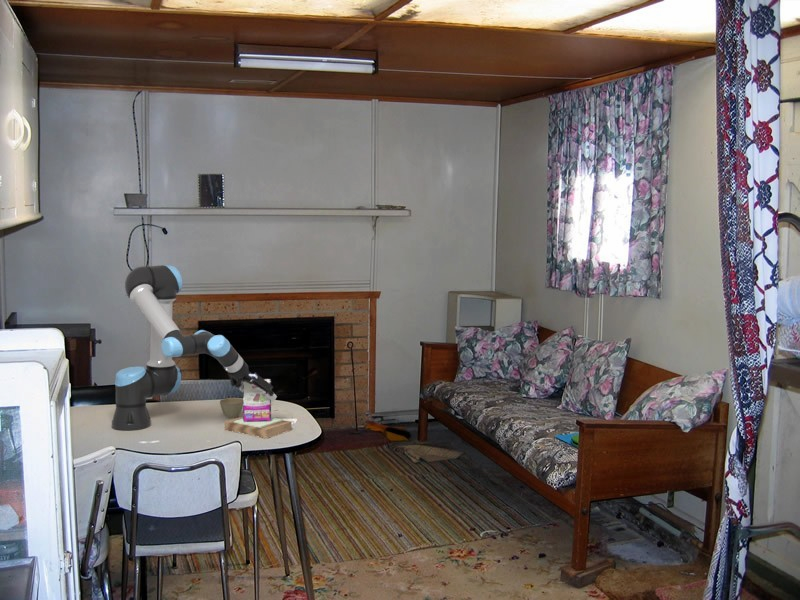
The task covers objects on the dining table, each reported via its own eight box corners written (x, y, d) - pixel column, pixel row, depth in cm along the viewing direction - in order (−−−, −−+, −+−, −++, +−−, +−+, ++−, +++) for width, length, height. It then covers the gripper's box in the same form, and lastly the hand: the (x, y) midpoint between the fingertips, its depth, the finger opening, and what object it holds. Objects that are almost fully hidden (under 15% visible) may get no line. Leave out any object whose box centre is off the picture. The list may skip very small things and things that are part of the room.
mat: (233, 422, 339) (233, 421, 339) (255, 415, 350) (255, 414, 349) (260, 427, 331) (260, 426, 331) (282, 420, 342) (282, 419, 342)
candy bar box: (271, 418, 344) (271, 378, 342) (271, 421, 339) (271, 381, 337) (243, 418, 342) (243, 379, 340) (242, 422, 337) (242, 381, 335)
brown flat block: (224, 429, 340) (224, 421, 340) (250, 422, 353) (250, 413, 352) (266, 438, 329) (266, 429, 328) (291, 430, 341) (291, 421, 341)
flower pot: (218, 415, 364) (218, 398, 363) (242, 413, 367) (242, 397, 366) (221, 420, 355) (221, 403, 354) (245, 419, 358) (245, 402, 357)
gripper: (206, 369, 331) (233, 400, 346) (255, 377, 318) (281, 409, 333) (216, 354, 335) (242, 385, 350) (264, 361, 322) (289, 393, 337)
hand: (261, 397), depth 341 cm, fingers open, 13 cm apart
